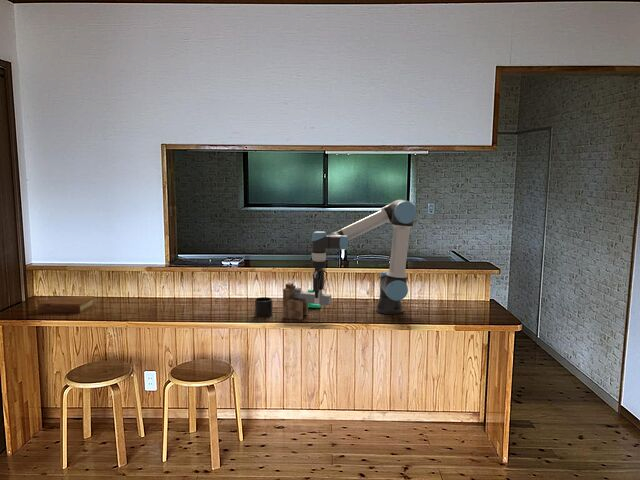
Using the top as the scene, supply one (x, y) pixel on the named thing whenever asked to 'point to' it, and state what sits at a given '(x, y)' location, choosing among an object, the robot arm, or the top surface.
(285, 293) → the brown wooden block stack
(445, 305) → the top surface
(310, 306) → the camera mount
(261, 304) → the mug
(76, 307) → the diary
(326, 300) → the rail
